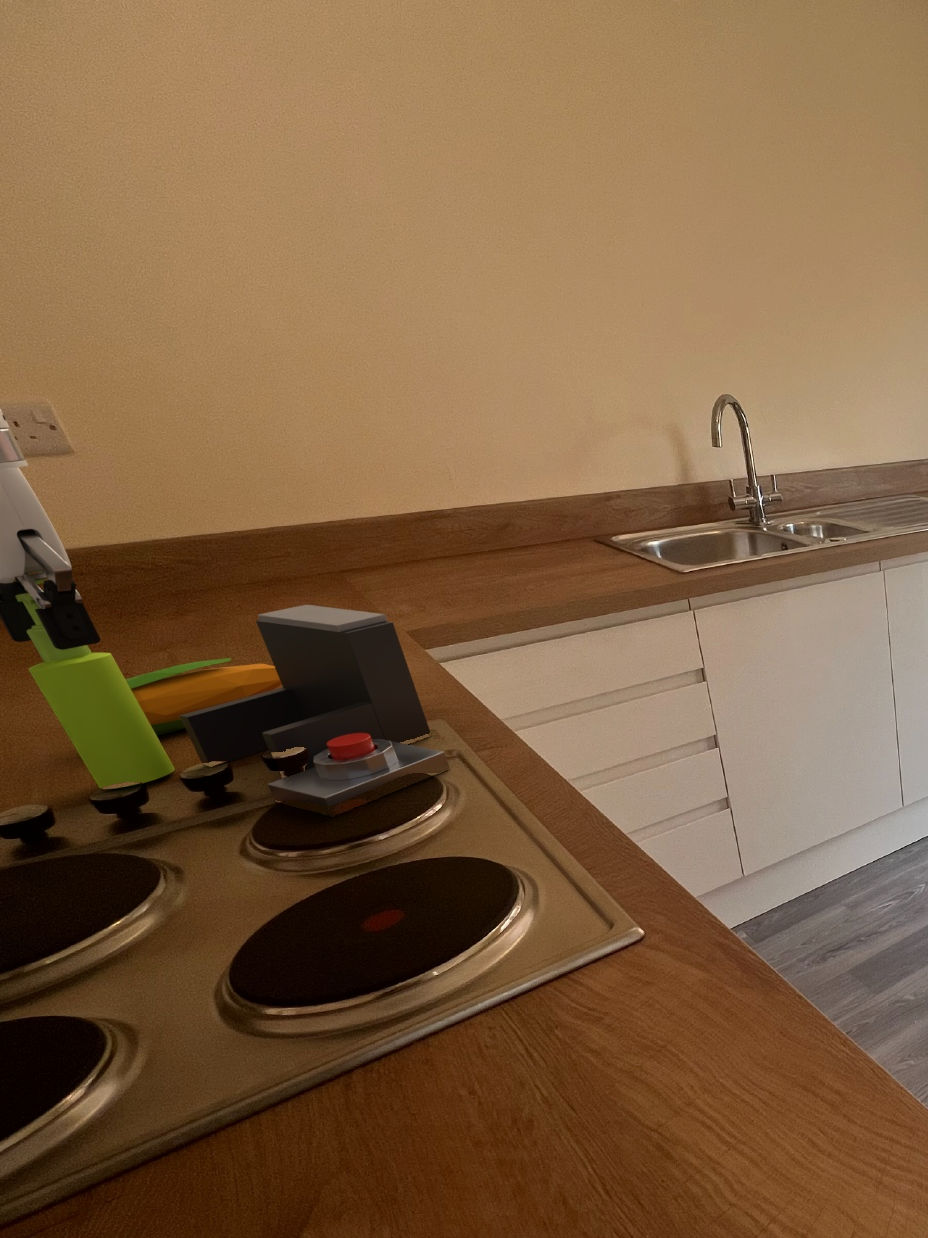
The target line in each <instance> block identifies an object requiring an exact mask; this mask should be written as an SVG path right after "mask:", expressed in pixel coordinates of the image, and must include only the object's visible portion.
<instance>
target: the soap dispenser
mask: <svg viewBox="0 0 928 1238" xmlns="http://www.w3.org/2000/svg"><path fill="white" fill-rule="evenodd" d="M15 597H16V599H17V600H18V602H21V601H22V602H23V603H24V605H25V607H26V608H27V610H28V612H29V614H30V615H31V617H32V619H33V620H34V622H35V624H36V625H33V626H31V627H32V629H29V630H27V633H28V635H29V637H30V639H31V640H30V641H31V642H32V644H33V645H34V647H35V649H36V650H37V652H38V654H39V655H40V657H41V659H42V661H43V662H40V663H37V664H35V665H33V666H30V667H28V671H29V673H30V675H31V676H32V678H33V680H34V682H35V683H36V685H37V686H38V688H39V690H40V691H41V693H42V694H43V696H44V698H45V700H46V702H47V703H48V704H49V707H50V708H51V709H52V711H53V714H54V715H55V717H56V718H57V720H58V721H59V723H60V725H61V727H62V728H63V730H64V731H65V733H66V735H67V736H68V738H69V740H70V741H71V743H72V745H73V746H74V748H75V750H76V751H77V753H78V755H79V757H80V759H82V761H83V762H84V765H85V766H86V768H87V770H88V771H89V773H90V775H91V776H92V778H93V779H94V781H95V783H96V784H97V786H98V788H99V789H100V788H102V787H106V786H110V785H112V784H118V783H121V782H142V784H147V783H148V782H152V781H155V780H158V779H161V778H164V777H165V776H168V775H170V774H171V773H173V772H174V771H175V770H176V769H175V766H174V764H173V763H172V761H171V759H170V758H169V756H168V754H167V751H166V750H165V749H164V748H165V747H163V745H162V743H161V741H160V739H159V737H158V735H156V734H155V732H154V730H153V728H152V727H151V725H150V723H149V721H148V719H147V718H146V716H145V714H144V712H143V710H142V709H141V707H140V705H139V703H138V701H137V700H136V698H135V696H134V694H133V692H132V691H131V689H130V687H129V685H128V683H127V682H126V680H125V679H126V678H125V676H124V675H123V673H122V671H121V669H120V667H119V665H118V663H117V662H116V660H115V659H114V656H113V655H112V653H111V652H92V651H91V649H90V646H89V645H85V646H80V647H75V648H70V649H65V650H61V649H57V648H55V647H54V645H53V643H52V642H51V640H50V638H49V636H48V634H47V632H46V630H45V628H44V626H43V624H42V622H41V620H40V618H39V617H38V615H37V613H36V611H35V609H39V608H40V607H39V605H38V604H37V603H36V602H35V600H34V599H33V598H32V596H31V595H30V594H29V593H25V594H19V595H16V596H15Z"/></svg>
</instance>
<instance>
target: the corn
mask: <svg viewBox="0 0 928 1238" xmlns="http://www.w3.org/2000/svg"><path fill="white" fill-rule="evenodd" d="M231 660H232V658H231V657H227V658H219V659H211V660H210V659H209V660H200V661H194V662H189V663H183V664H178V665H173V666H170V667H169V666H168V667H166V668H162V669H158V670H154V671H151V672H147V673H143V674H140V675H136V676H132V677H129V678H125V680H126V682H127V683H128V685H129V687H130V689H131V691H132V692H133V694H134V696H135V698H136V700H137V701H138V703H139V705H140V707H141V709H142V710H143V712H144V714H145V716H146V718H147V719H148V721H149V723H150V725H151V727H152V728H153V730H154V732H155V734H156V736H162V735H163V736H164V735H167V734H171V733H174V732H175V733H176V732H178V731H182V730H186V729H185V727H184V724H183V722H182V720H181V718H180V715H183V714H187V713H190V712H194V711H198V710H201V709H205V708H209V707H212V706H216V705H220V704H223V703H227V702H231V701H234V700H238V699H242V698H245V697H249V696H253V695H256V694H260V693H264V692H267V691H271V690H275V689H278V687H280V686H282V683H281V681H280V678H279V676H278V674H277V671H276V669H275V666H274V665H271V664H267V663H255V664H242V665H233V666H224V667H222V666H221V667H214V668H205V667H207V666H212V665H217V664H222V663H227V662H231ZM200 668H202V669H200ZM203 668H204V669H203Z"/></svg>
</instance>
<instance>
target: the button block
mask: <svg viewBox="0 0 928 1238" xmlns="http://www.w3.org/2000/svg"><path fill="white" fill-rule="evenodd" d="M372 742H373V744H374V747H375V749H376V750H374V751H373V752H371V753H368V754H365V755H363V756H359V757H354V758H349V759H337V760H334V759H332V756H331V754H330V751H329V749H326V750H323V751H322V752H320V753H319V754H317V755H315V756H314V757H313V759H314V765H315V767H314V768H311V769H308V770H305V771H303V772H300V773H297V774H294V775H291V776H289V777H286V778H283V779H282V778H281V779H280V778H279V779H277V780H275V781H272V782H269V783H267V786H268V789H269V790H270V793H271V795H272V797H273V800H274V801H275V800H277V801H288V800H298V801H302V802H310V803H317V804H319V805H324V806H332V805H335V804H337V803H341V802H343V801H345V800H347V799H349V798H352V797H355V796H357V795H359V794H362V793H365V792H367V791H369V790H372V789H374V788H376V787H379V786H381V785H383V784H385V783H387V782H389V781H392V780H394V779H396V778H398V777H402V776H405V775H407V774H412V773H440V772H442V771H445V770H448V769H450V770H451V767H450V765H449V761H448V759H447V756H446V753H445V752H444V751H442V750H438V749H432V748H427V747H422V746H417V745H413V744H410V745H407V744H402V743H397V742H392V741H387V740H382V739H372Z"/></svg>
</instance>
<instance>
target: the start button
mask: <svg viewBox="0 0 928 1238" xmlns="http://www.w3.org/2000/svg"><path fill="white" fill-rule="evenodd" d="M327 746H328V749H329V751H330V754H331V756H332V759H334V760H337V759H349V758H354V757H359V756H363V755H365V754H368V753H371V752H373V751H374V750H376V749H375V747H374V744H373V742H372V739H371V736H370V735H369V734H367V733H354V734H348V735H343V736H339V737H336V738H334V739H332V740H330V741H328V742H327Z"/></svg>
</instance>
